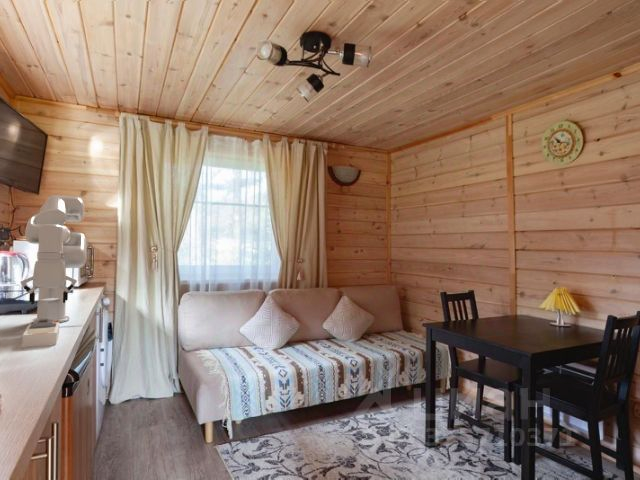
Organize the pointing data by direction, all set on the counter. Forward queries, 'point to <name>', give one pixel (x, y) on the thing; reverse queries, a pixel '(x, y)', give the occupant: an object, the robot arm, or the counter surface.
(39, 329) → the cream rectangular tray
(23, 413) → the counter surface
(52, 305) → the skincare box
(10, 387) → the counter surface
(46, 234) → the robot arm
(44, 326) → the grey square block
